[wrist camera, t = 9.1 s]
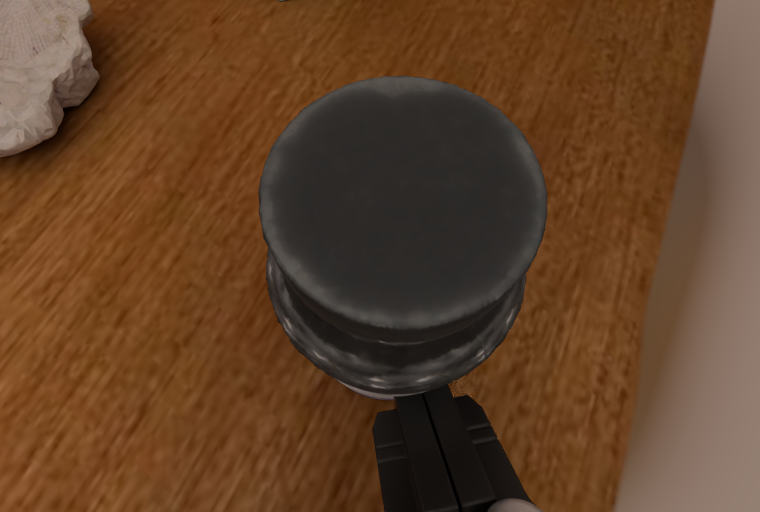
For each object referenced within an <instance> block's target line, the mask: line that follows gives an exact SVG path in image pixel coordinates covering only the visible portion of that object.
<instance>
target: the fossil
mask: <svg viewBox="0 0 760 512" xmlns="http://www.w3.org/2000/svg"><path fill="white" fill-rule="evenodd" d="M92 19H93V13H92V7H91V5H90V3H89V1H88V0H0V157H5V156H10V155H15V154H17V153H19V152H22V151H24V150H27V149H29V148H32V147H33V146H35V145H37V144H39V143H41V142H42V141H43V140H47V139H49V138H51V137H52V136H54V135H55V134H56V132H57V130H58V129H57V128H58V127H59V125H60V124H61V122H62V119H63V116H64V112H63V108H65V107H70V106H79V105H80V104H81V103H82V102H83V101H84V99H85V98H86V97H87V96H88V95H89V94H90V92H91V90H92V89H93V88H94V86H95V85H96V83H97V81H98V80H99V79H100V78H99V77H100V76H99V74H98V71H96V70H95V69H94V68H93V63H92V61H91V59H92V52H91V48H90V46H89V43H88V41H87V39H86V38H85V36H84V34H83V31H82V29H83V27H85V26H86V25H87V24H88V23H90V22H91V21H92Z"/></svg>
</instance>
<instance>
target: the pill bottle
mask: <svg viewBox="0 0 760 512" xmlns="http://www.w3.org/2000/svg"><path fill="white" fill-rule="evenodd" d="M259 205H260V207H259V214H260V219H261V225H262V230H263V236H264V240H265V242H266V243H267V245H268V254H267V257H268V259H267V268H266V275H267V277H266V280H267V282H268V291H269V296H270V300H271V301H272V303H273V309H274V310H275V313H276V316H277V318H278V321H279V323H280V324H281V325H282V327H283V329H284V331H285V332H286V334H287V336H288V337H289V338H290V341H291V343H292V344H293V345H294V347H295V348H296V349H297V350H298V351H299V352H300V353H301V354H303V355H304V356H305V357H306V358H308V359H309V360H310V361H311V362H312V363H313V364H314V365H315V366H316V367H317V368H318V369H321V370H323V371H324V372H325V373H326V374H328V375H330V376H331V377H333V378H335V379H336V380H338V381H339V382H340V383H342V384H343V385H345V386H346V387H347V388H348V389H350V390H352V391H354V392H356V393H358V394H361V395H363V396H366V397H368V398H373V399H381V400H394V398H393V397H394V396H407V395H413V394H418V393H423V392H426V391H430V390H433V389H436V388H440V387H441V386H445V385H446V384H450V383H451V382H453V381H454V380H457V379H459V378H461V377H462V376H464V375H466V374H468V373H469V372H471V371H472V370H473V369H474V368H476V367H477V366H479V365H480V364H481V363H482V362H484V361H485V360H486V359H487V358H488V357H489V356H490V355H491V354H492V353H493V352H494V350H495V349H496V348H497V347H498V346H499V345H500V344H501V343H502V342H503V341H504V339H505V337H506V335H507V333H508V332H509V330H510V329H511V327H512V325H513V323H514V321H515V319H516V317H517V315H518V313H519V311H520V309H521V304H522V302H523V295H524V288H525V283H526V272H527V271H528V269H529V267H530V265H531V263H532V261H533V260H534V258H535V256H536V254H537V251H538V248H539V246H540V243H541V241H542V238H543V234H544V231H545V225H546V218H547V190H546V186H545V181H544V176H543V173H542V171H541V168H540V165H539V162H538V160H537V158H536V155H535V153H534V151H533V149H532V147H531V146H530V144H529V143H528V142H527V140H526V138H525V136H524V135H523V133H522V132H521V131H520V130H519V129H518V127H517V126H516V125H515V124H514V123H512V122H511V121H510V120H509V119H508V118H507V117H506V116H505V115H504V114H503V113H502V112H501V111H500V110H499V109H498V108H496V107H495V106H493V105H491V104H490V103H488V102H487V101H486V100H485V99H483V98H482V97H479V96H477V95H475V94H473V93H471V92H469V91H467V90H466V89H461V88H460V87H458V86H456V85H453V84H449V83H446V82H441V81H438V80H433V79H426V78H420V77H410V76H392V77H389V76H383V77H380V78H371V79H367V80H362V81H358V82H354V83H351V84H348V85H346V86H343V87H342V88H340V89H337V90H334V91H332V92H330V93H328V94H326V95H325V96H323V97H321V98H319V99H318V100H316V101H314V102H312V103H311V104H310V105H308V106H307V107H305V108H304V109H303V110H301V111H300V113H299V114H298V116H297V117H295V118H294V119H293V120H292V121H291V122H290V123H289V124H288V125H287V127H286V128H285V130H284V131H283V132H282V133H281V135H280V136H279V137H278V139H277V140H276V142H275V143H274V145H273V146H272V148H271V151H270V153H269V156H268V158H267V160H266V163H265V165H264V170H263V174H262V176H261V180H260V186H259Z"/></svg>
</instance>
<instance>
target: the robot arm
mask: <svg viewBox="0 0 760 512" xmlns="http://www.w3.org/2000/svg"><path fill="white" fill-rule="evenodd" d="M393 398H394V405H395V409H394V410H388V411H383V412H378V413H377V416H376V419H375V423H374V426H373V429H372V430H373V436H374V443H375V450H376V457H377V463H378V470H379V477H380V484H381V491H382V497H383V504H384V511H385V512H543V511H541V510H540V509H539V508H538V507H537V506H536V505H535V504H534V503H533V502H532V501H531V500H530V499H529V497H528V496H527V494H526V492H525V491H524V489H523V487H522V485H521V483H520V481H519V479H518V477H517V475H516V473H515V471H514V469H513V467H512V465H511V463H510V461H509V459H508V457H507V455H506V453H505V451H504V449H503V448H502V446H501V444H500V442H499V440H498V439H497V436H496V434H495V432H494V430H493V428H492V426H491V425H490V422H489V420H488V418H487V416H486V414H485V412H484V410H483V408H482V407H481V406H480V405H479V404H478V403H476V402H475V401H474V400H473V399H472V398H471V397H469V396H468V395H465V396H460V397H455V398H453V396H452V393H451V391H450V389H449V386H448V384H446V385H445V386H441V387H440V388H436V389H433V390H430V391H426V392H423V393H418V394H413V395H407V396H394V397H393Z"/></svg>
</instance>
